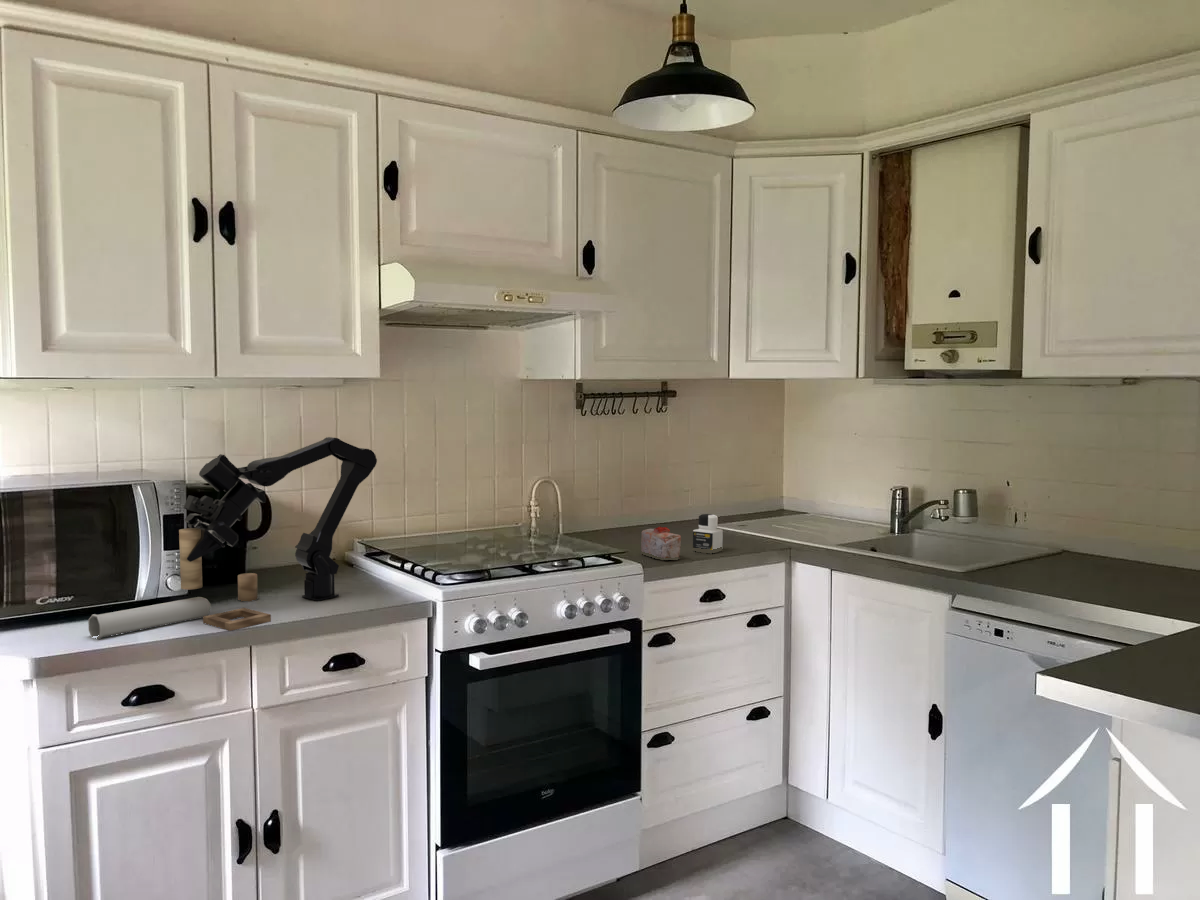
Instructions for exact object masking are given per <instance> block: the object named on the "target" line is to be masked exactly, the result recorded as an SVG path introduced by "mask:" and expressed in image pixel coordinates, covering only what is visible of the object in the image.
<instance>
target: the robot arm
mask: <svg viewBox="0 0 1200 900" xmlns="http://www.w3.org/2000/svg"><path fill="white" fill-rule="evenodd" d="M330 456H333V457H334V458H336V459H338V460H339V461H340V462H341V465H340V476H339V477H340V478H339V480H338V482H337V483H336V486H335V488H334V490H333V491H332V493H331V496H330V498H329V500H328V502H327V503H326V506H325V508H324V510H323V512H322V514H320V517H319V519H318V522H317V523H316V526H315V528H314V529H312V531H311V532H309V533H307V532H303V533H302V534H301V536H300V540H299V541H298V543H297V544H296V545H295V546H294V548H295V549H296V551H295V553H294V556H295V559H296V561H297V562H298V564H300V565H301V567H302V570H303V571H305V579H304V581H303V582H304V584H303V585H304V587H303V588H304V589H303V590H304V594H302V595H301V598H304V599H308V600H311V601H315V602H316V601H317V602H318V601H324V600H328V599H331V598H332V599H333V598H337V597H339V595H340V594H339V593H335V592H336V591H335V586H336V584H335V582H336V581H335V575H337V573H338V571H339V567H340V565H339V564H338V563H336V561H335V560H333V559H332V558H331V557H330V556H331V554H332V550H333V541H334V540H333V537H334V534H335V533H336V531H337V530H338V529H337V528H338V527H339V526H340V523H341V521H342V519H343V517H344V515H345V513H346V510H347V509H348V507H349V505H350V503H351V501H352V499H353V497H354V495H355V493H356V490H357V488H359V487H358V486H360V484H361V483H362V482H364V481H365V480H366V479H367V478H368V477H370V475H371V473H372V472H373V470H374V469H375V467H376V465H377V463H378V459H377V455H376V454H375V452H374V451H372V449H369V448H361V447H357V446H355V445H353V444H350V443H348V442H346V441H343V440H342V439H340V438H338V437H332V436H326V437H325V438H324V439H321V440H319V441H316V442H314V443H312V444H309V445H306V446H303V447H301V448H299V449H296V450H293V451H291V452H288V453H285V454H283V455H280V456H273V457H267V458H261V459H256V460H253V461H251V462H249V463H248V464H247V466H242V467H237V466H236V465H235V464H233V463H232V462H231V461H230V460H229V458H228V457H227V455H225V454H221V453H220V454H219V455H218V456H216V457H215V458H213V459H212V460H210V461H208V462H206V463H205V464H204V466H202V467H201V469H200V471H199V473H198V475H199V477H200V478H201V479H203V480H204V481H205V482H206V483H208V484H209V485H210V486H211V487H212V488H214V490H215V491H217V492H223V491H224V492H226V493H225V494H224V496H222V498H221V499H214V498H213V497H211V496H207V495H204V496H202V497H201V498H200V497H196V496H193V495H188V496H187V498H186V501H185V502H184V505H183V509H184V510H187V511H191V512H193V513H189V514H188V515H187V516H186V517H185V518H184V522H186V523H187V528H200V529H201V538H200V540H199V541H198V542H197V544H196V545H195V547H194V548H193V550H192V551H191V552H190V554H189V555H188V557H187V560H188V561H189V562H191V561H194V560H196V559H198V558H200V557H203V556H206V555H208V554H210V553H212V552H215V551H216V550H218V549H221V548H225V547H226V545H228V546H230V547H231V548H233V547H234V546H235V545H236V544H237V543H238V542H239V533H237V532H236V531H235V530H233V528H231V527H232V526H233V525H235V523H236V522H237V521H239V522H240V521H241V520H243V518H244V517H243V516H242V515H243V514H244V513H245V512H246V510H247V509H249V507H250V506H251V505H252V504H253V503H254V502H255V501H257V502H260V503H263V504H264V503H266V502H267V499H266V491H265V490H262V489H260V490H259V489H258V488H257V487H256V486H261V487H270V486H273V485H275V484H276V483H278V482H279V481H282V479H284V478H285V477H287V475H289V474H290V473H292V472H293V471H295V470H298V469H300V468H303V467H306V466H308V465H311V464H314V463H315V462H317V461H320V460H322V459H325V458H327V457H330ZM242 479H244V480H247V481H248V483H246V482H244V481H243V480H242ZM255 485H256V486H255ZM225 542H226V545H225V544H224V543H225ZM178 556H179V557H180V554H179V555H178Z"/></svg>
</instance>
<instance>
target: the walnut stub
mask: <svg viewBox="0 0 1200 900" xmlns="http://www.w3.org/2000/svg"><path fill="white" fill-rule="evenodd" d="M257 598H259V597H258V574H257V573H254V572H253V573H252V572H249V573H248V572H246V573H240V574H238V575H237V601H238V600H241V601H240V602H242V601H248V602H253V601H252V600H255V601H257V600H258V599H257ZM256 599H257V600H256Z"/></svg>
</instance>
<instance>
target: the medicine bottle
mask: <svg viewBox="0 0 1200 900" xmlns="http://www.w3.org/2000/svg"><path fill="white" fill-rule="evenodd" d="M718 518H719V517H718V516H717V515H716V514H713V513H702V514H700V515H698V528H696V529H693V530H692V549H693V548H701V549H710V550H713V549H717V548H720V547H722V548H723V540H724V539H723V534H724V531H723V529H721V528H718V527H719V525H718V521H719V519H718Z"/></svg>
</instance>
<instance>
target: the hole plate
mask: <svg viewBox="0 0 1200 900" xmlns="http://www.w3.org/2000/svg"><path fill="white" fill-rule="evenodd" d="M271 614H272V613H271ZM271 614H270V613H266V612H262V611H259V610H254V609H251V608H246V607H241V608H235V609H232V610H227V611H223V612H217V613H214V614H208V615H207V616H203V617H202V621H203V622H202V623H203V624H204V623H206V624H205V625H208V624H209V625H208V626H211V625H212V627H215V626H216V628H218V627H220V628H219V629H222V630H225V629H226V631H228V632H229V631H230V632H231V631H235V630H239V629H243V628H247V627H252V626H256V625H260V624H264V623H269V622H271V621H272V615H271ZM237 617H240V618H237ZM243 617H244V618H243ZM234 618H235V619H234ZM230 619H231V620H230Z"/></svg>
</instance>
